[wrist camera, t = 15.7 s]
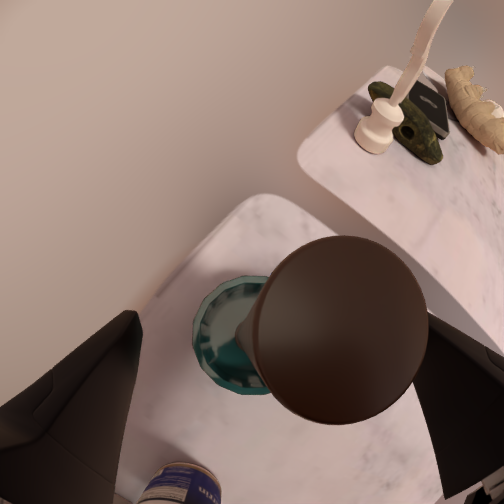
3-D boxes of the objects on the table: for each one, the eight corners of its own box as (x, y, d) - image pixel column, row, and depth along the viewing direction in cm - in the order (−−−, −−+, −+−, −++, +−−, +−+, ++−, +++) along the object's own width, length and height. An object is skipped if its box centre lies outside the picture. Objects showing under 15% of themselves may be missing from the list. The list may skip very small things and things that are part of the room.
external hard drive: (439, 105, 31) (444, 97, 30) (442, 144, 28) (449, 135, 26) (404, 83, 32) (408, 75, 30) (400, 117, 28) (407, 107, 27)
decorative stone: (438, 158, 27) (458, 137, 23) (431, 174, 26) (453, 152, 22) (367, 100, 29) (380, 74, 25) (354, 111, 28) (367, 83, 24)
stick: (274, 332, 20) (464, 296, 3) (254, 358, 19) (368, 473, 2) (248, 313, 20) (318, 176, 3) (228, 339, 19) (176, 358, 2)
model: (520, 152, 25) (480, 170, 30) (467, 73, 29) (429, 88, 35) (530, 136, 20) (487, 155, 25) (467, 51, 24) (426, 66, 29)
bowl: (299, 383, 19) (312, 393, 15) (199, 382, 19) (191, 392, 15) (300, 288, 22) (313, 277, 18) (202, 284, 21) (195, 273, 17)
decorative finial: (365, 120, 28) (449, -54, 4) (392, 142, 27) (495, -25, 3) (341, 141, 26) (434, -71, 2) (371, 166, 25) (494, -36, 2)
